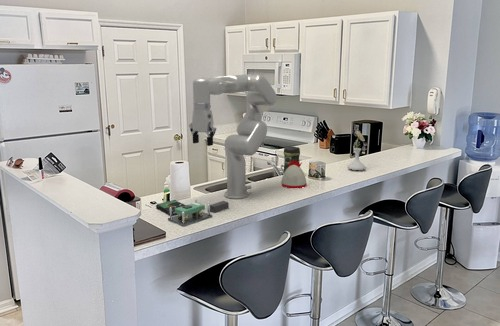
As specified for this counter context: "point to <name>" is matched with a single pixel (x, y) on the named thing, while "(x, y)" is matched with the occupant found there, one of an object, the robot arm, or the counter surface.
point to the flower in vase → (357, 156)
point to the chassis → (189, 217)
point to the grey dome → (294, 176)
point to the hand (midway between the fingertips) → (202, 144)
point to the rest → (219, 206)
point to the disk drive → (166, 207)
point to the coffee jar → (290, 155)
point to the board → (190, 208)
